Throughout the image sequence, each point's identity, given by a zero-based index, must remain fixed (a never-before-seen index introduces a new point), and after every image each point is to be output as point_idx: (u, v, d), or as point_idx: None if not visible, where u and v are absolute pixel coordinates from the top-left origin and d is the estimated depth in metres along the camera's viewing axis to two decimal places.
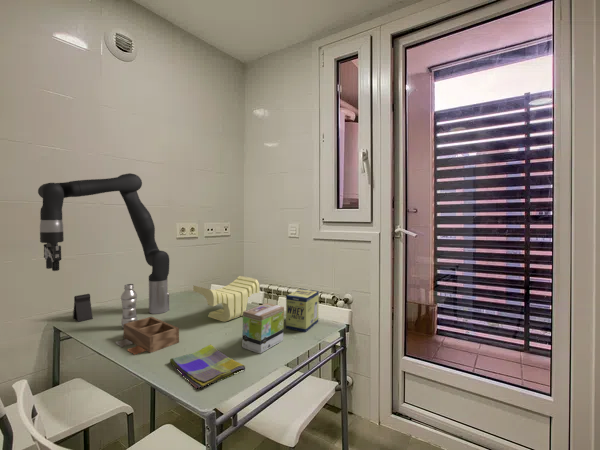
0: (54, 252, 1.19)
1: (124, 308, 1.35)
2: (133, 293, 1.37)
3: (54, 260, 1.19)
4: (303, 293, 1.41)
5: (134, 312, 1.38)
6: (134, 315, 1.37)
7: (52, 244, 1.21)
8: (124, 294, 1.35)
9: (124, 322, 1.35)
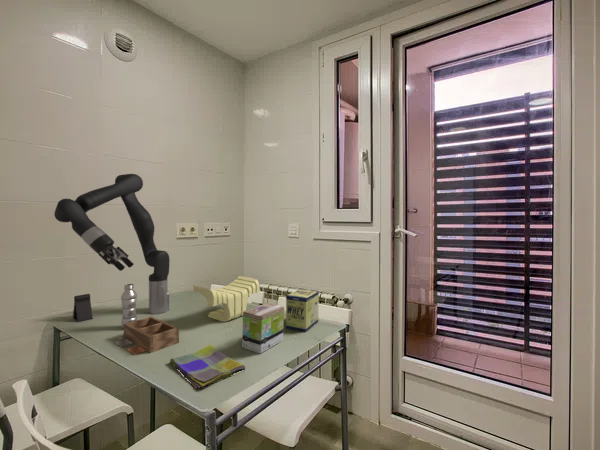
0: (103, 258, 1.15)
1: (124, 308, 1.35)
2: (133, 293, 1.37)
3: (109, 263, 1.16)
4: (303, 293, 1.41)
5: (134, 312, 1.38)
6: (134, 315, 1.37)
7: (101, 251, 1.18)
8: (124, 294, 1.35)
9: (124, 322, 1.35)
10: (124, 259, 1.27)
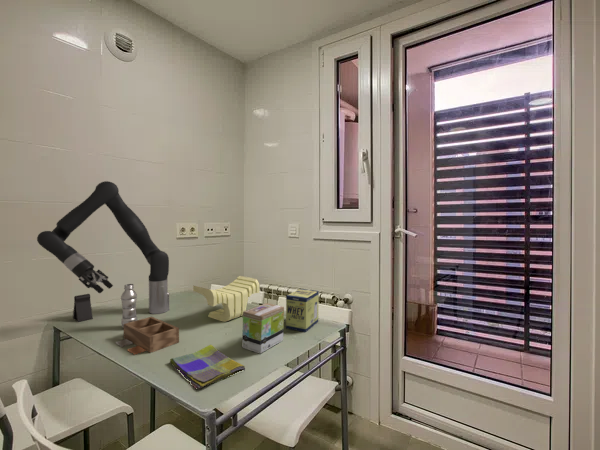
0: (83, 282, 1.28)
1: (124, 308, 1.35)
2: (133, 293, 1.37)
3: (88, 287, 1.29)
4: (303, 293, 1.41)
5: (134, 312, 1.38)
6: (134, 315, 1.37)
7: (82, 276, 1.31)
8: (124, 294, 1.35)
9: (124, 322, 1.35)
10: (104, 281, 1.40)
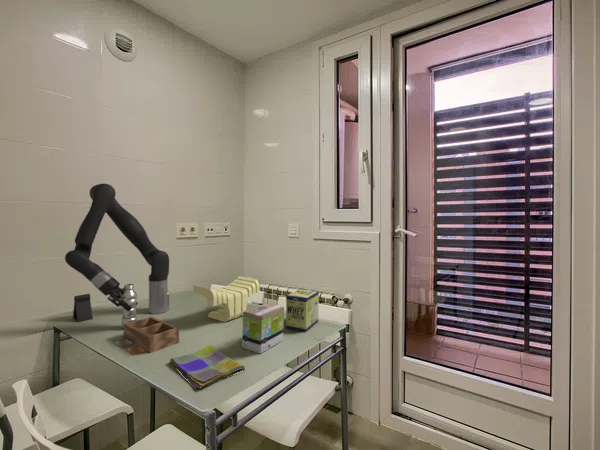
0: (112, 301, 1.30)
1: None
2: (133, 293, 1.37)
3: (118, 306, 1.32)
4: (303, 293, 1.41)
5: (135, 312, 1.38)
6: (134, 315, 1.37)
7: (109, 294, 1.33)
8: (124, 294, 1.35)
9: (124, 322, 1.35)
10: None
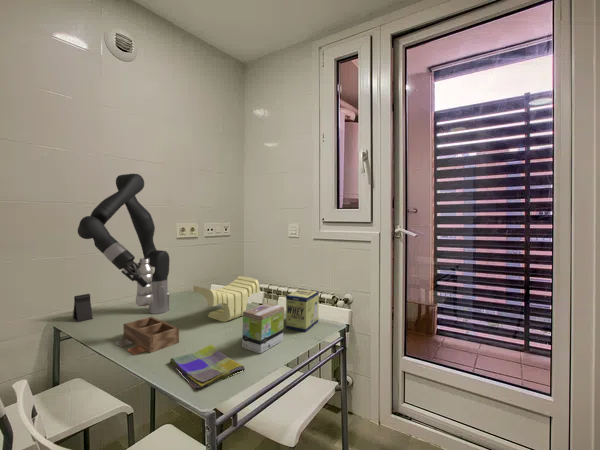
0: (126, 275, 1.18)
1: (139, 284, 1.22)
2: (149, 268, 1.24)
3: (133, 280, 1.19)
4: (303, 293, 1.41)
5: (150, 289, 1.25)
6: (150, 292, 1.24)
7: (123, 267, 1.20)
8: (139, 268, 1.22)
9: (139, 299, 1.22)
10: None
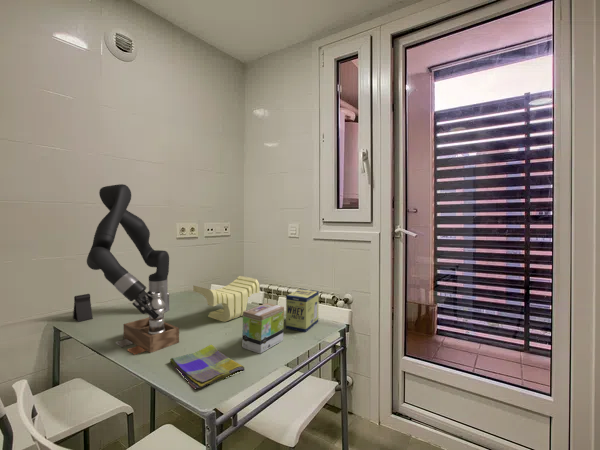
0: (137, 307, 1.13)
1: (151, 319, 1.18)
2: (161, 302, 1.19)
3: (144, 313, 1.13)
4: (303, 293, 1.41)
5: (163, 323, 1.21)
6: (162, 327, 1.20)
7: (135, 299, 1.15)
8: (151, 303, 1.17)
9: (151, 335, 1.17)
10: None
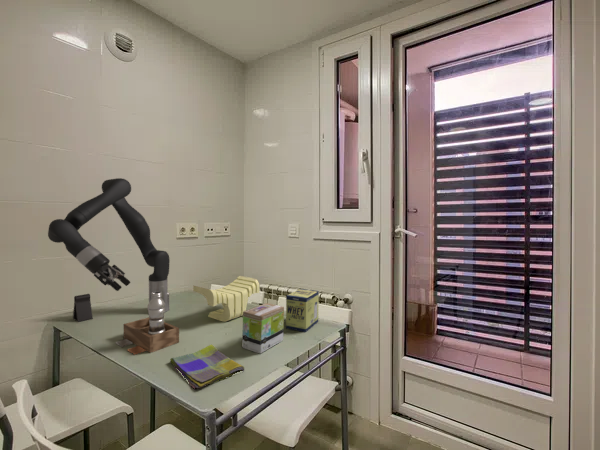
0: (99, 279, 1.14)
1: (151, 319, 1.18)
2: (161, 302, 1.19)
3: (105, 284, 1.14)
4: (303, 293, 1.41)
5: (163, 323, 1.21)
6: (162, 327, 1.20)
7: (97, 271, 1.16)
8: (151, 303, 1.17)
9: (151, 335, 1.17)
10: (120, 277, 1.25)
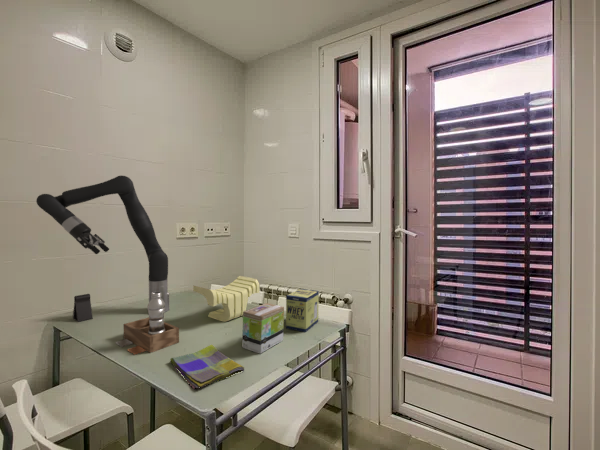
0: (80, 243, 1.34)
1: (151, 319, 1.18)
2: (161, 302, 1.19)
3: None
4: (303, 293, 1.41)
5: (163, 323, 1.21)
6: (162, 327, 1.20)
7: None
8: (151, 303, 1.17)
9: None
10: (101, 245, 1.45)
